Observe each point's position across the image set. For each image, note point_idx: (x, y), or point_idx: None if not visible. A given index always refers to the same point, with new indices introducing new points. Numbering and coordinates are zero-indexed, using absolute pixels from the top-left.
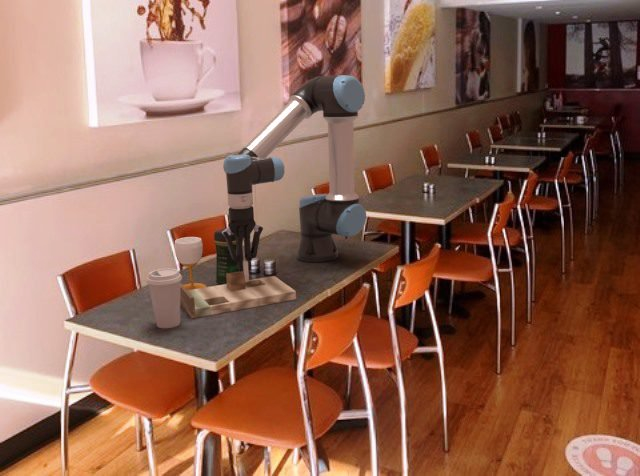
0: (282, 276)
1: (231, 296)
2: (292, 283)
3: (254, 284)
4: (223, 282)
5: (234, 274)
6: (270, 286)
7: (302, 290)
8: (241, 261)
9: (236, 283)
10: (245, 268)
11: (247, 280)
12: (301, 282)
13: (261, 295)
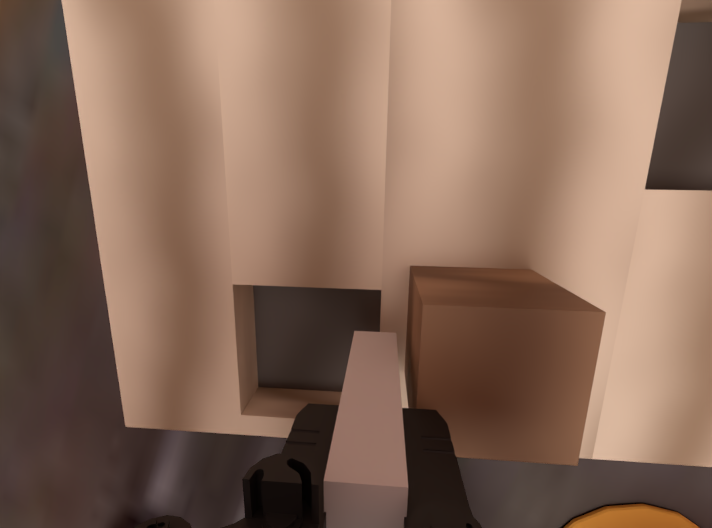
0: (87, 476)
1: (592, 142)
2: (61, 335)
3: (288, 397)
4: None
5: (514, 387)
6: (215, 219)
7: (32, 172)
8: (441, 506)
9: (504, 284)
10: (378, 406)
11: (367, 337)
12: (7, 322)
13: (356, 24)
